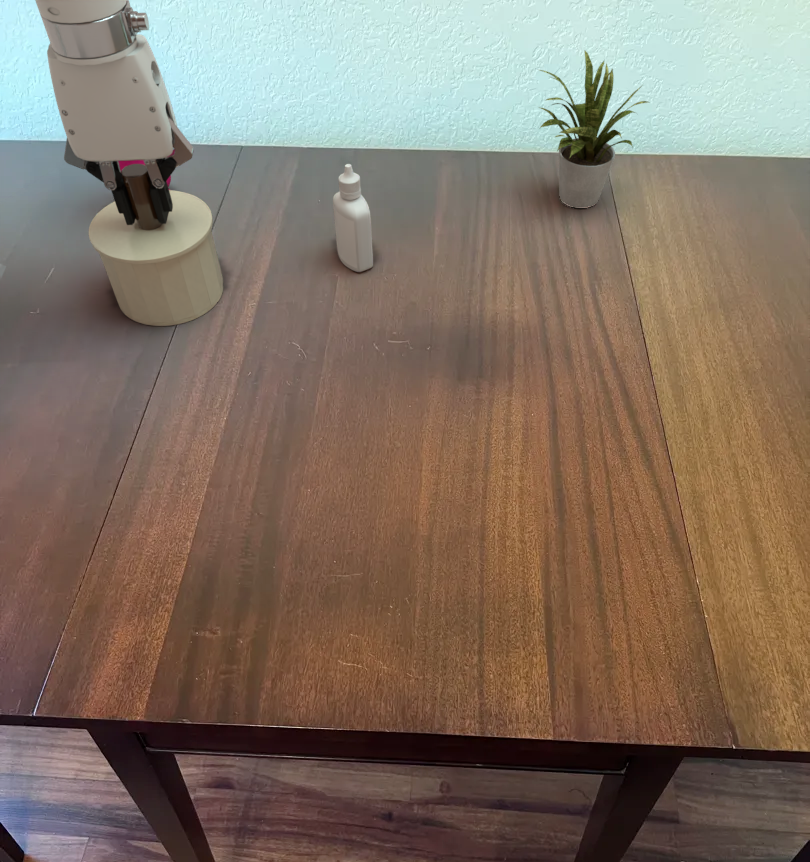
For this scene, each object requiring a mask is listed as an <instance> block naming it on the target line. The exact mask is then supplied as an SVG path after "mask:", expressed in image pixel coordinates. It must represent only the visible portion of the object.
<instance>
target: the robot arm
mask: <svg viewBox="0 0 810 862" xmlns="http://www.w3.org/2000/svg"><path fill="white" fill-rule="evenodd" d="M34 1H35V3H36V7H37V10H38V12H39V14H40V17H41V18H40V19H41V21H42V23H43V26H44V29H45V32H46V34H47V38H48V40H49V44H48V47H47V51H46V56H47V63H48V69H49V74H50V79H51V84H52V88H53V93H54V97H55V102H56V106H57V109H58V113H59V117H60V120H61V123H62V126H63V130H64V132H65V135H66V140H65V148H64V155H63V160H64V162H65V163H66V164H68V165H70V166H73V167H76V168H77V169H78V168H79V169H80V170H85V171H86V172H88V173H89V174H90V175H92V176H93V177H95V178H96V179H97V180H99V181H100V182H102V183H103V185H104V187H105V188H106V189H107V190H109V191H110V192H111V194H112V196H113V200H114V201H115V203H116V206H117V209H118V212H119V213H120V214H123V215H124V218H125V221H126V224H127V225H133V224H134V222H135V216H134V212H133V209H132V206H131V203H130V200H129V197H128V194H127V191H126V188H125V184H124V181H123V178H122V175H121V170H120V166H119V162H118V161H129V160H143V161H144V163H145V166H146V168H147V171H148V174H149V176H150V179H151V181H150V182H151V186H150V195H151V198H152V202H153V205H154V208H155V212H156V215H157V218H158V222H159V223H161V224H166V222H167V218H168V214H169V212H172V209H173V204H172V199H171V196H170V192H169V189H170V188H169V187H168V185H167V179H168V178H169V177H170V175H171V176H172V174H173V173H174V172H175V170H176V168H178V167H180V166H182V165H183V164H184V165H185V163H187V162H189V161H190V160H191V159H192V158H193V155H194V151H195V149H194V146H193V145H192V144H191V142H190V141H189V140H188V138H187V137H186V136H185V135H184V134H183V132H182V131H181V130H180V128H179V127H178V122H177V119H176V115H175V111H174V108H173V105H172V102H171V98H170V95H169V93H168V90H167V86H166V84H165V81H164V78H163V75H162V72H161V69H160V67H159V65H158V62H157V59H156V56H155V54H154V52H153V50H152V48H151V46H150V44H149V41H148V40H147V37H146V36H144V35H143V34H138V33H141V32H142V31H149V30H150V22H149V17H148V14H147V12H138V10H134V8H133V7H131V4H130V0H34Z"/></svg>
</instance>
